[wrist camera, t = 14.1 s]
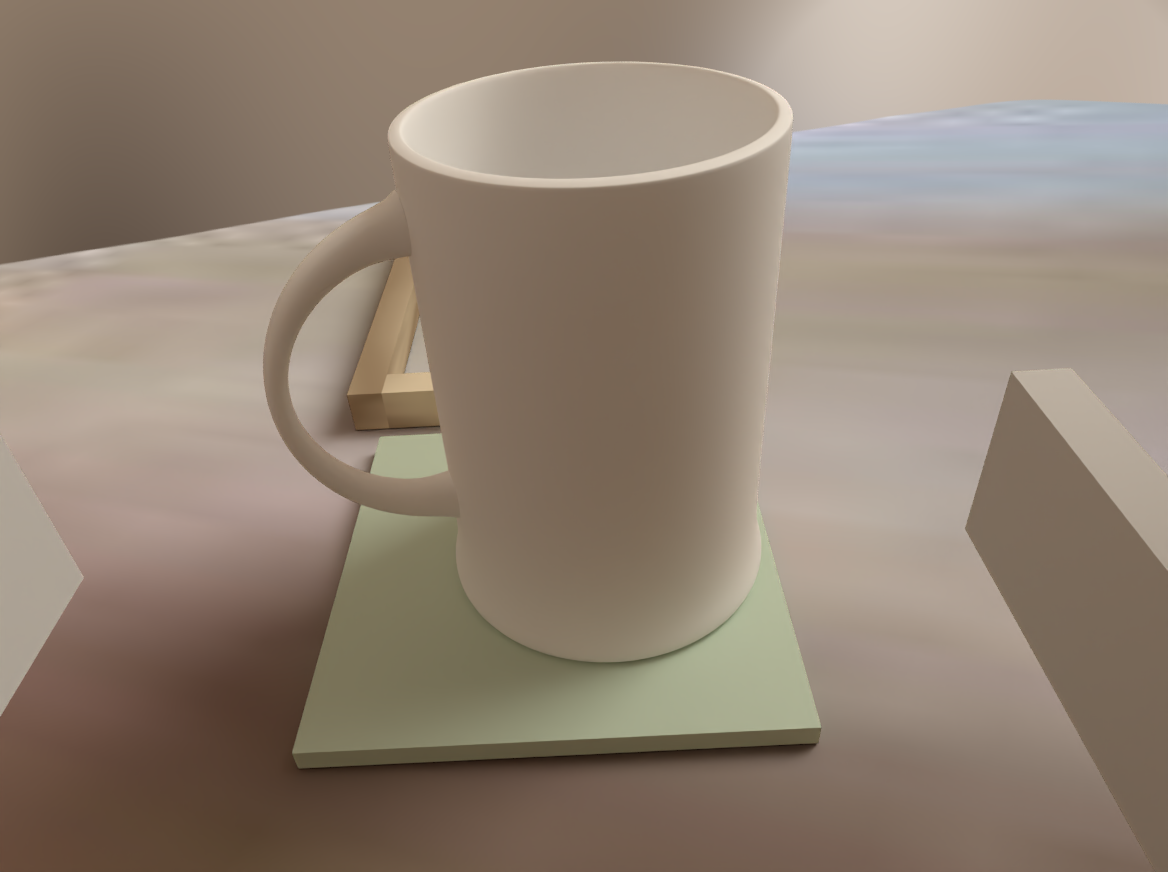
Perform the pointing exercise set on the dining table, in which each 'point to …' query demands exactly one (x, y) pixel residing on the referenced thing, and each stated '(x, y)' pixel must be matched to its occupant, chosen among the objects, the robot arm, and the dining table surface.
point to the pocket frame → (392, 363)
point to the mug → (580, 342)
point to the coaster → (523, 663)
